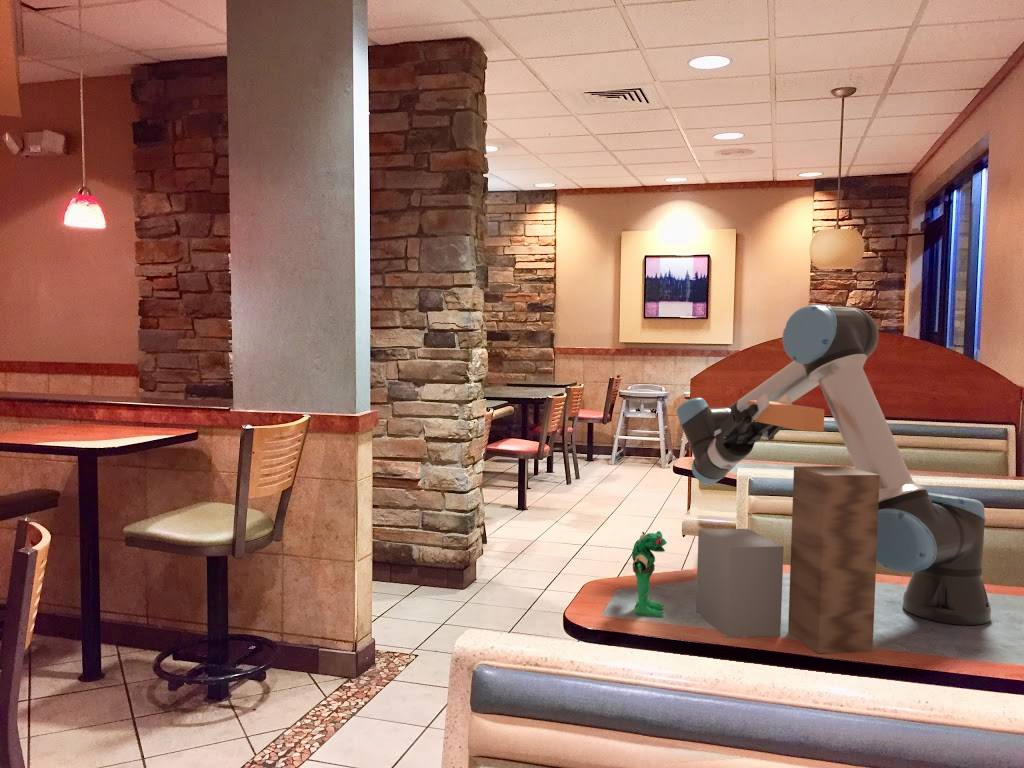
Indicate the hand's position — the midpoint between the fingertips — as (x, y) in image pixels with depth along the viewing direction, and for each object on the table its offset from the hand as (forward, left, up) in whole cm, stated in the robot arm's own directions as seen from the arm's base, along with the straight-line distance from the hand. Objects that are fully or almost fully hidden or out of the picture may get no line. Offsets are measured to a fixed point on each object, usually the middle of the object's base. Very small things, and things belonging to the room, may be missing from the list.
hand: (777, 400), depth 162 cm
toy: (+26, +1, -41) cm, 48 cm away
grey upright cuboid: (+12, +10, -41) cm, 44 cm away
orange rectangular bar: (0, +2, -5) cm, 5 cm away
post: (0, +21, -41) cm, 46 cm away
